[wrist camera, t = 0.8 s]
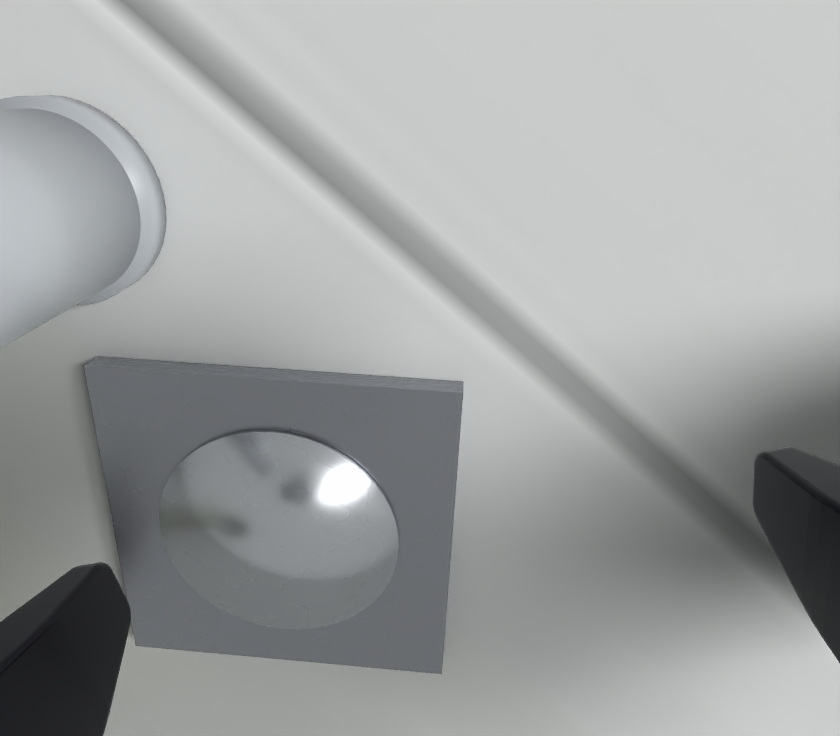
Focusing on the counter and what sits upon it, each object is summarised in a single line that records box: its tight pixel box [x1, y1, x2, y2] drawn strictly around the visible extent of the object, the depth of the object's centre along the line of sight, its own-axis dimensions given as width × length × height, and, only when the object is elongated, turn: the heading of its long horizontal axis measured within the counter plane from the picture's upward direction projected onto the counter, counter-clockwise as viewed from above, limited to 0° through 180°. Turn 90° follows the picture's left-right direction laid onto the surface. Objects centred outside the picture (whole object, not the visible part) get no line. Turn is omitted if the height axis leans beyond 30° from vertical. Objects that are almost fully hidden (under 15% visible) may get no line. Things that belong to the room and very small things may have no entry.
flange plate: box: [84, 357, 463, 674], centre depth 23 cm, size 12×12×1 cm
